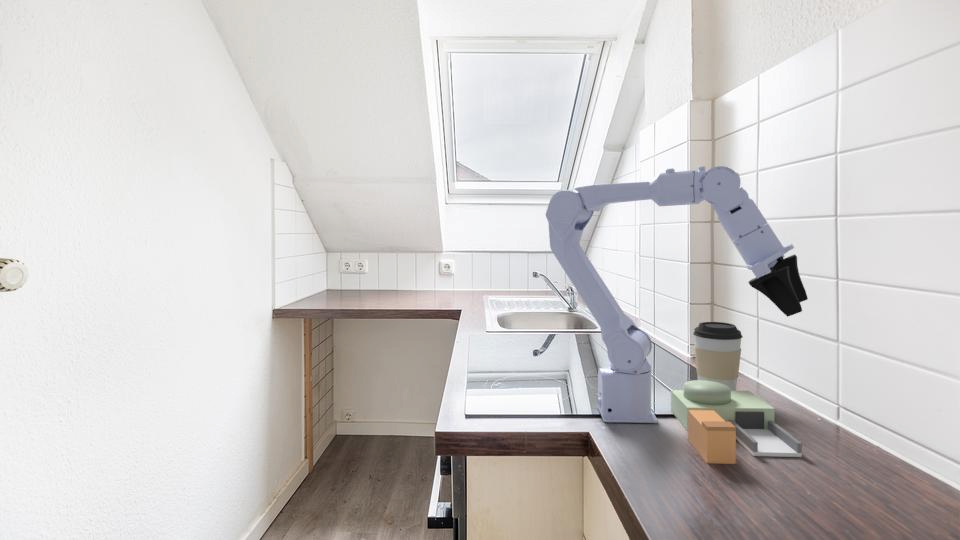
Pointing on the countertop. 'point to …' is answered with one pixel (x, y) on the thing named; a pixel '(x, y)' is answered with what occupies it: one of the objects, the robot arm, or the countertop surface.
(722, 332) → the coffee cup
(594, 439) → the countertop surface
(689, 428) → the orange stepped block
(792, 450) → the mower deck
